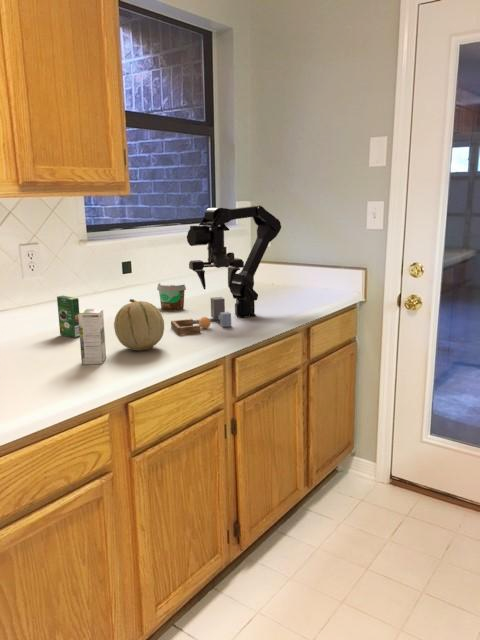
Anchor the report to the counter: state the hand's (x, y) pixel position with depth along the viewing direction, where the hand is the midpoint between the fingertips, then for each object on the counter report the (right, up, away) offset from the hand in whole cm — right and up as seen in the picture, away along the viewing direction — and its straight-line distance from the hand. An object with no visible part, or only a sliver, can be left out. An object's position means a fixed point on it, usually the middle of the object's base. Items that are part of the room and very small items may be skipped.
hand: (217, 288), depth 190 cm
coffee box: (-47, -17, -15) cm, 52 cm away
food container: (-20, -7, +24) cm, 32 cm away
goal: (-10, -15, -10) cm, 21 cm away
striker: (+2, -12, -1) cm, 12 cm away
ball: (-4, -12, -8) cm, 15 cm away
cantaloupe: (-21, -20, -31) cm, 43 cm away
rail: (-4, -12, +1) cm, 13 cm away
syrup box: (-32, -23, -42) cm, 58 cm away
